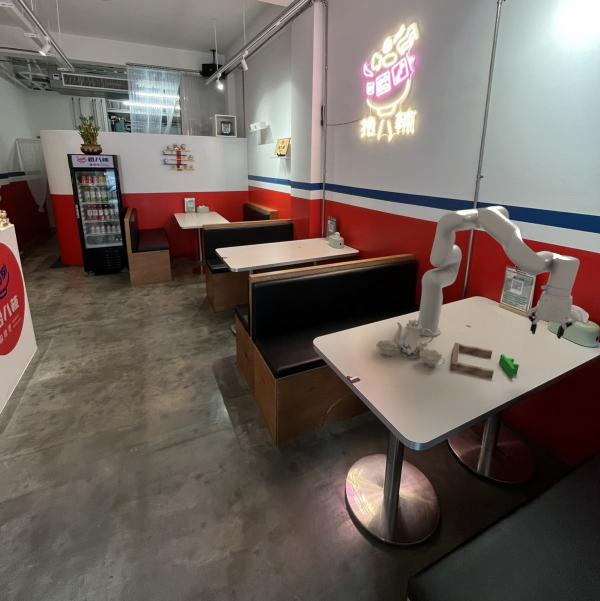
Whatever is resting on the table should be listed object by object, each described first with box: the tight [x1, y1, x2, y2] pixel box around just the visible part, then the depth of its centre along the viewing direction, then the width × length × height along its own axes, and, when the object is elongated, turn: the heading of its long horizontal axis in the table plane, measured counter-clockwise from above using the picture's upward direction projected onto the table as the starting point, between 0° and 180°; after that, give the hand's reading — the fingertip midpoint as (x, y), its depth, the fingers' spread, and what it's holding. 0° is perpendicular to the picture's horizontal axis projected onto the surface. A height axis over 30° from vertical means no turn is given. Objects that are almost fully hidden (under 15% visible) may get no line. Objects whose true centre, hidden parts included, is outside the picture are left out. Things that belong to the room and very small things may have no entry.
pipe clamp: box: [498, 353, 520, 379], centre depth 146 cm, size 11×4×5 cm, turn 173°
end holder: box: [450, 342, 495, 379], centre depth 152 cm, size 15×20×3 cm
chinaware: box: [376, 319, 445, 368], centre depth 153 cm, size 28×17×17 cm, turn 70°
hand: (545, 334), depth 137 cm, fingers open, 7 cm apart
